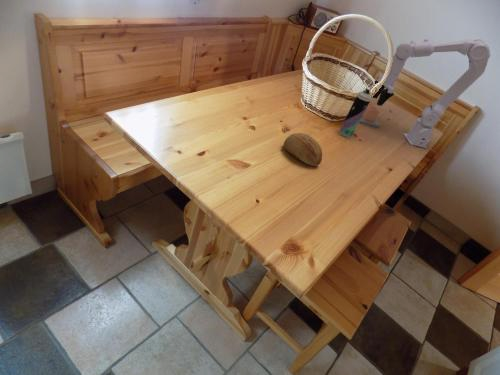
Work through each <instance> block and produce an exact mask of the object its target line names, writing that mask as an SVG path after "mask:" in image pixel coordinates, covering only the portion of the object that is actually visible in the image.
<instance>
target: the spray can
mask: <svg viewBox="0 0 500 375" xmlns="http://www.w3.org/2000/svg"><path fill="white" fill-rule="evenodd" d="M370 91H371V90H370V89H369V88H367V87H366V88H365V89H364V90H363V91H358V93H357V95H356V96H355V98H354V100H353V103H352V104H351V106H350V109H349V111H348V112H347V115H346V116H345V119H344V120H343V123H342V124H341V127H340V129H339V135H341V136H342V137H344V138H348V139H349V138H352V136H353V135H354V132H355V131H356V128H357V127H358V125H359V124H360V123H359V122H360V120H361V118H362V116H363V114H364V112H365V110H366V108H367V106H368V105H370V103H371V102H372V96H371V92H370Z"/></svg>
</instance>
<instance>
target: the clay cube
mask: <svg viewBox="0 0 500 375" xmlns="http://www.w3.org/2000/svg"><path fill="white" fill-rule="evenodd" d="M379 114H380V111H379V109H378V108H377V107H376V106H373V105H370V104H368V106H367V108H366V110H365V112H364V114H363V118H364V120H368V121H372V122H374V121H375V120H376V119H377V118H378V116H379Z"/></svg>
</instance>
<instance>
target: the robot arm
mask: <svg viewBox="0 0 500 375" xmlns="http://www.w3.org/2000/svg"><path fill="white" fill-rule="evenodd" d="M452 52H458V53H460V55H461V54H462V55H463V56H467V58H468V69H467V70H466V71H465V72H464V73H463V74H462V75H461V76H460V77H458V79H457V80H456V81H455V82H453V84H452V85H451V86H450V87H449V88H448V89H447V90H445V92H444V93H443V94H442V95H441V96H440V97H438V99H436V100H435V101H433V102H432V103H431V104H430V105H428V106H426V107H424V108H423V109H422V110H421V116H419V117H418V118H417V119H416V121H415V122H414V124H413V126H412V127H411V128H410V130H409V132H408V133H405V132H404V133H402V134H403V136H404V137H405V139H406V140H407V142H408V143H409V145H411V146H414V147H415V146H416V147H420V148H424V149H427V144H428V143H429V142H430V140H431V139H432V138H433V135H434V132H433V127H434V126H436V125H437V124H438V123H439V120H440V118H442V116H443V114H444V113H445V112H446V110H447V109H448V107H450V105H452V104H453V103H454V102H455V101H456V100H457V99H458V98H459V97H460V96H461V95H463V93H464V92H466V91H467V89H468V88H470V86H472V85H473V84H474V83H475V82H476V81H477V80H478V79H479V78H480V77H481V76H482V75H483V74H484V73H485V71H486V69H487V66H488V61H489V59H490V57H491V52H490V47H489V45H488V44H487V43H485V41H484V40H482V39H460V40H459V39H458V40H451V41H446V42H445V41H444V42H438V43H435V42H433V41H432V40H429V38H425V39H424V41H423V40H421V41H414V40H410V42H407V41H403V42H401V43H400V44H398V45H397V46H396V50H395V53H394V54H393V56H392V58H393V62H392V67H391V70H390V73H389V75H388V77H387V79H386V81H385V82H384V84H383V85H382V87H381V88H380V89H379V91H378V92H377V93H376V94H375V95H374V96H373V97H372V96H371V97H372V98H373V99H377V102H376V105H377V106H379V107H382V106H383V105H384V104H385V103H386V102H387V101H388V100H389V99H390V98H391V97H393V96H394V95H395V93H394V92H395V87H394V86H395V85H394V84H395V82H396V81H397V79H398V77H399V75H400V74H401V72H402V70H403V68H404V66H405V64H406V61H407V60H408V59H409V58H422V57H423V58H424V57H429V56H431V55H433V54H434V53H452ZM383 75H384V73H383ZM383 75H379V77H378V78H377V80H374V85H375V84H376V83H378V82H379V81H380V80H381V78H382V77H383ZM372 98H371V99H372Z"/></svg>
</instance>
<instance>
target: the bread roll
mask: <svg viewBox="0 0 500 375" xmlns="http://www.w3.org/2000/svg"><path fill="white" fill-rule="evenodd" d="M283 148H284V150H286V151H287V152H288V153H289V154H291V155H292V156H294V157H295V158H297V159H298V160H299V161H301V162H303V163H305V164H306V165H309V166H311V167H312V166H313V167H318V166H319V165H321V162H322V160H323V150H322V147H321V146H320V144H319V143H318V141H317V140H316V139H315V138H314V137H312V136H311V135H309V134H307V133H303V132H302V133H301V132H296V133H292V134H290V135H288V136H287V137H286V139H285V140H284V142H283Z"/></svg>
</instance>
